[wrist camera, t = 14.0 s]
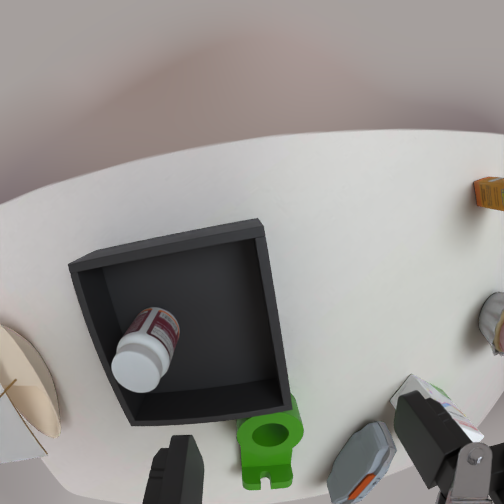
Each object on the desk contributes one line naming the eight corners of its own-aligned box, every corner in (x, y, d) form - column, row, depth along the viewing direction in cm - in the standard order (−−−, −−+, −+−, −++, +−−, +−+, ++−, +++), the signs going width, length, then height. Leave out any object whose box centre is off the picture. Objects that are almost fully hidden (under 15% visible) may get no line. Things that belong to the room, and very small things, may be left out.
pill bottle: (137, 345, 30) (111, 392, 21) (134, 303, 29) (102, 343, 20) (181, 350, 30) (166, 400, 22) (180, 308, 29) (162, 351, 21)
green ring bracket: (235, 387, 32) (235, 413, 27) (298, 384, 32) (306, 409, 28) (239, 466, 35) (240, 490, 30) (290, 462, 35) (295, 486, 31)
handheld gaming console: (337, 477, 37) (349, 514, 29) (320, 477, 37) (331, 515, 29) (381, 413, 34) (405, 451, 27) (364, 412, 34) (386, 453, 26)
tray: (94, 250, 28) (67, 264, 22) (257, 218, 28) (263, 225, 23) (143, 394, 32) (131, 426, 26) (284, 377, 32) (292, 409, 26)
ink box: (443, 388, 34) (498, 449, 20) (421, 414, 35) (469, 479, 21) (411, 371, 33) (472, 443, 19) (387, 400, 34) (437, 477, 19)
